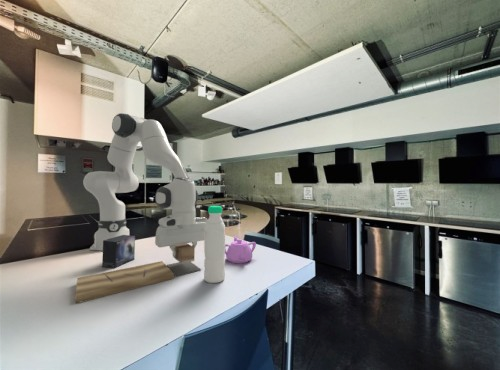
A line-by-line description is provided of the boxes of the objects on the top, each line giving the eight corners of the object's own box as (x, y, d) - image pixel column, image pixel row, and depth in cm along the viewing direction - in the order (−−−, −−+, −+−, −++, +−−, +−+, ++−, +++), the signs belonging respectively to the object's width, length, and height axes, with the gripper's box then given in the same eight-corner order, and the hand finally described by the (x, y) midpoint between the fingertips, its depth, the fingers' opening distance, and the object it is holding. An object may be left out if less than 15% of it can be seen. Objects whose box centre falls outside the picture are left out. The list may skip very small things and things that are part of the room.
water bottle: (199, 279, 72) (200, 206, 72) (216, 273, 77) (216, 204, 77) (212, 286, 67) (213, 207, 67) (229, 279, 72) (229, 206, 73)
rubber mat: (166, 266, 84) (166, 264, 84) (188, 261, 89) (188, 260, 89) (176, 276, 74) (176, 274, 74) (200, 270, 80) (200, 269, 80)
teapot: (234, 253, 101) (234, 234, 101) (260, 258, 93) (260, 238, 94) (218, 260, 90) (218, 240, 91) (245, 267, 83) (246, 244, 83)
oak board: (77, 284, 68) (77, 278, 68) (161, 266, 84) (162, 261, 84) (75, 303, 57) (75, 295, 57) (173, 278, 73) (173, 272, 73)
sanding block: (173, 257, 84) (173, 244, 84) (185, 254, 87) (185, 242, 87) (181, 263, 77) (181, 249, 77) (194, 260, 80) (194, 247, 80)
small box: (115, 268, 81) (115, 241, 81) (101, 267, 82) (101, 240, 82) (135, 259, 91) (135, 235, 91) (122, 258, 93) (123, 234, 93)
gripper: (204, 216, 91) (204, 248, 91) (154, 220, 78) (153, 257, 78) (211, 217, 86) (211, 251, 86) (158, 222, 73) (158, 262, 73)
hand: (183, 254), depth 82 cm, fingers closed on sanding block, 5 cm apart
